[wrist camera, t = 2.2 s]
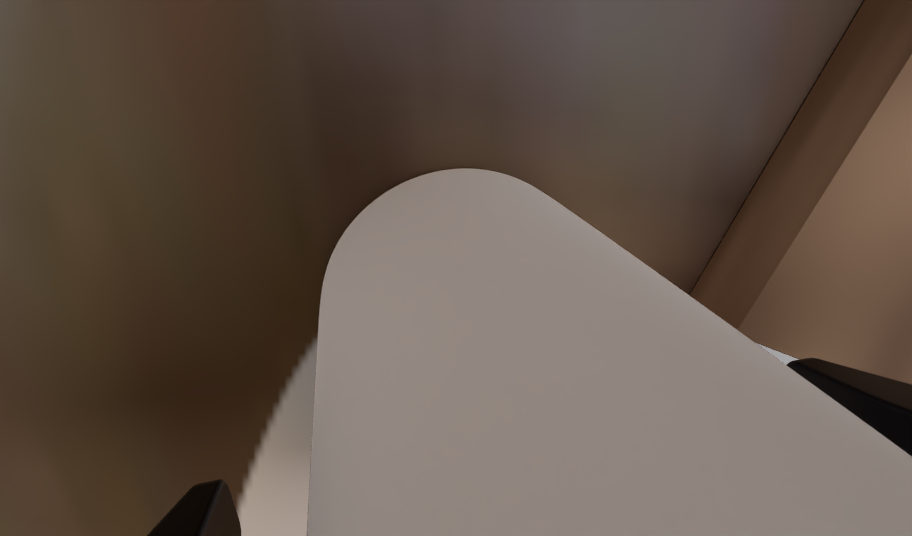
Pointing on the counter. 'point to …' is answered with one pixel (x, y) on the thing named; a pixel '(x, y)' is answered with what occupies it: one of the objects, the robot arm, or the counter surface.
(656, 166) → the counter surface
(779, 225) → the base
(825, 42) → the counter surface
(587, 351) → the can
